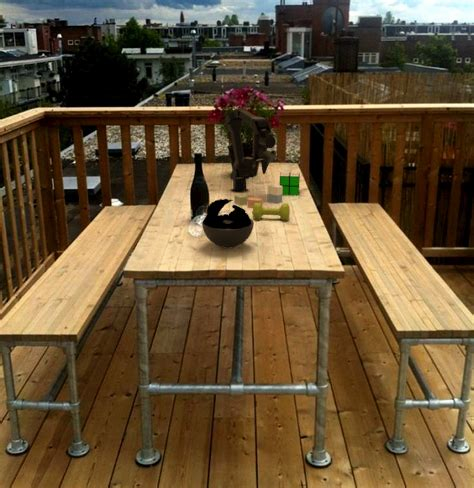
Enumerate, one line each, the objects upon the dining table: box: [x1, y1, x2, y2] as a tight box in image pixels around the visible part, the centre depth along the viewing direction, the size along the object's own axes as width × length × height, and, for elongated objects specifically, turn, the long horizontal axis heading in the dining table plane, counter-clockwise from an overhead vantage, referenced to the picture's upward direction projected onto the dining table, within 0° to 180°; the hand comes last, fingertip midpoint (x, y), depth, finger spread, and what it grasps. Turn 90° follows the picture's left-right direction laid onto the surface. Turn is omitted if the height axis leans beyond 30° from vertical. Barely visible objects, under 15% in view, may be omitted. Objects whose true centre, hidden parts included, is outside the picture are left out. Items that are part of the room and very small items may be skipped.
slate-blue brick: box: [267, 193, 283, 204], centre depth 310 cm, size 6×4×4 cm, turn 55°
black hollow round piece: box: [201, 198, 255, 249], centre depth 245 cm, size 20×20×19 cm
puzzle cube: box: [279, 171, 301, 196], centre depth 324 cm, size 10×10×10 cm
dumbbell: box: [252, 203, 291, 222], centre depth 281 cm, size 16×8×7 cm, turn 85°
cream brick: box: [267, 183, 283, 196], centre depth 308 cm, size 6×4×4 cm, turn 49°
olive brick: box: [233, 193, 248, 206], centre depth 306 cm, size 6×4×4 cm, turn 25°
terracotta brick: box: [247, 197, 263, 209], centre depth 300 cm, size 6×4×4 cm, turn 70°
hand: (258, 175), depth 312 cm, fingers open, 9 cm apart
